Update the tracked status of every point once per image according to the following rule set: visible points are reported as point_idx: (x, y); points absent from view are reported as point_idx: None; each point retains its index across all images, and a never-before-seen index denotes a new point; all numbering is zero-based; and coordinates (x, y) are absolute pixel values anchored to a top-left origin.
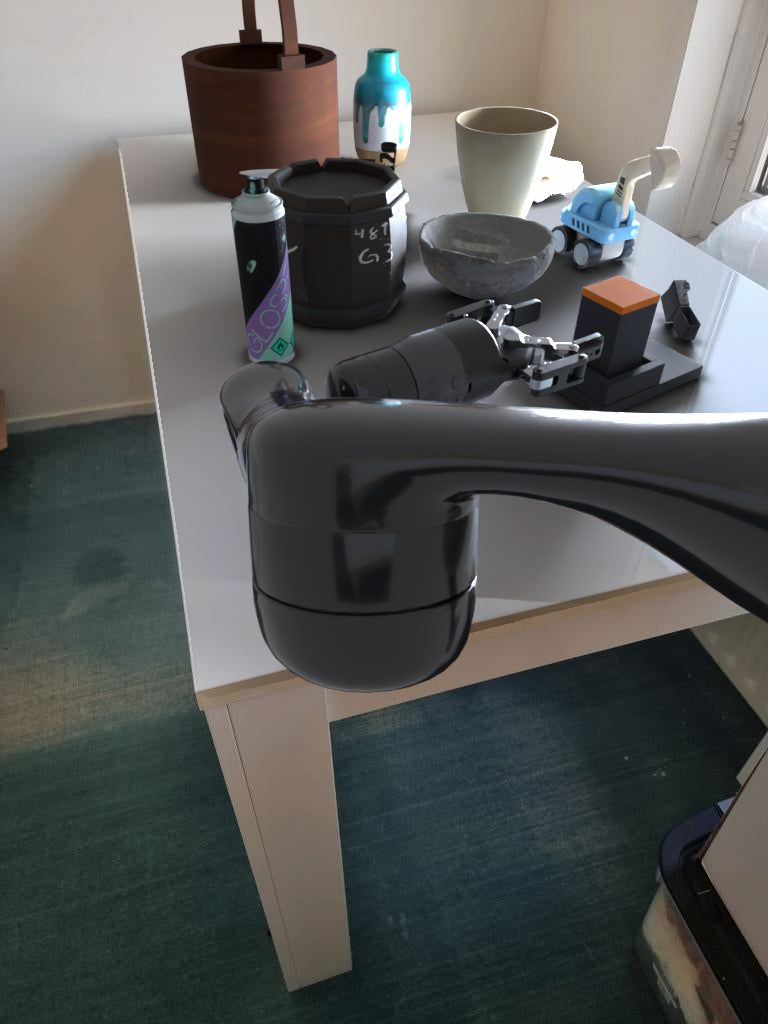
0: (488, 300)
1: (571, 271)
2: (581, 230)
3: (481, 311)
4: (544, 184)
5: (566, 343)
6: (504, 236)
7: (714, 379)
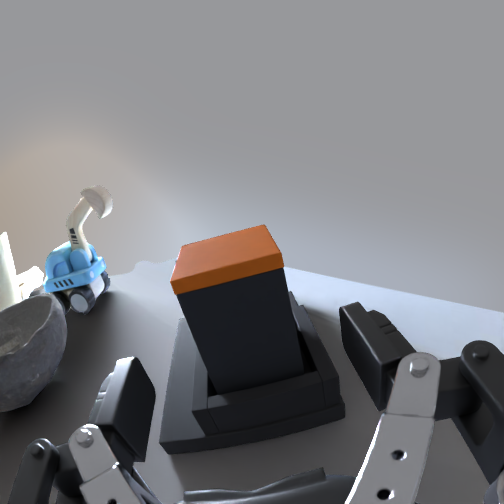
0: (35, 449)
1: (82, 320)
2: (66, 286)
3: (49, 495)
4: (23, 287)
5: (396, 378)
6: (13, 327)
7: (302, 295)
